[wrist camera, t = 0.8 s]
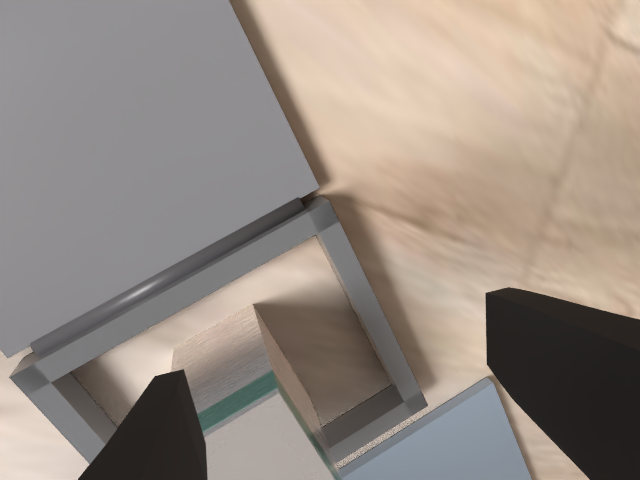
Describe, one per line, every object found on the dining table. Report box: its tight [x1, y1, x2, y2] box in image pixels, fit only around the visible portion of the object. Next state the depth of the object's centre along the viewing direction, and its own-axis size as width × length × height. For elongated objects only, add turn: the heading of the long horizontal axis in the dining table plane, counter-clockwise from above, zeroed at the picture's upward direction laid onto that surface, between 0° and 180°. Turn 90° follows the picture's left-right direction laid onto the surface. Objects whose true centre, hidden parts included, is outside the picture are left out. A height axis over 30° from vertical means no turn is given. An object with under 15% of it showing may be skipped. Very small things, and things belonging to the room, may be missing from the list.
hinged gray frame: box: [0, 0, 428, 464], centre depth 18 cm, size 14×24×2 cm, turn 26°
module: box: [171, 304, 343, 480], centre depth 18 cm, size 4×6×7 cm, turn 26°
